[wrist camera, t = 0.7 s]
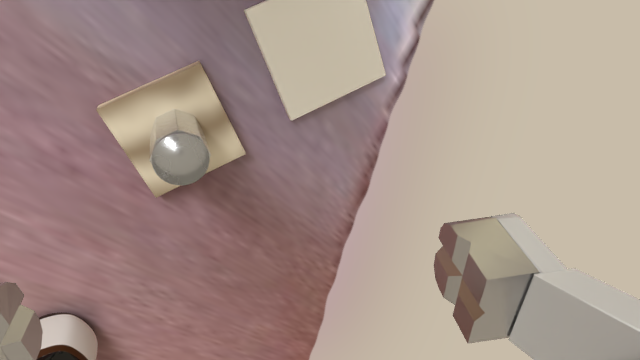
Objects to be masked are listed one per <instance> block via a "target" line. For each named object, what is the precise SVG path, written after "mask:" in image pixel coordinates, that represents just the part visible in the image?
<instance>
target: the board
mask: <svg viewBox="0 0 640 360" xmlns="http://www.w3.org/2000/svg"><path fill="white" fill-rule="evenodd" d="M244 12H245V15H246V17H247V20H248V22H249V24H250V27H251V29H252V31H253V34H254V36H255V39H256V41H257V43H258V46H259V48H260V51H261V53H262V55H263V58H264V60H265V63H266V65H267V67H268V70H269V72H270V74H271V77H272V79H273V82H274V84H275V86H276V89H277V91H278V94H279V96H280V98H281V101H282V103H283V105H284V108H285V110H286V113H287V115H288V117H289V119H290V120H291V121H292V120H294V119H296V118H298V117H301V116H303V115H305V114H307V113H309V112H311V111H313V110H315V109H317V108H319V107H321V106H323V105H325V104H327V103H330V102H332V101H334V100H336V99H338V98H340V97H342V96H344V95H346V94H348V93H350V92H352V91H354V90H356V89H359V88H361V87H363V86H365V85H367V84H369V83H371V82H373V81H375V80H377V79H379V78H381V77H383V76H385V75H386V73H385V70H384V66H383V62H382V58H381V55H380V51H379V47H378V43H377V40H376V36H375V32H374V28H373V25H372V21H371V17H370V14H369V10H368V6H367V2H366V0H266V1H263V2H261V3H259V4H256V5H254V6H252V7H249V8H247V9H245V10H244Z"/></svg>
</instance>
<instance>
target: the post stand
mask: <svg viewBox="0 0 640 360" xmlns="http://www.w3.org/2000/svg"><path fill="white" fill-rule="evenodd" d="M173 109H176V110H180V111H183V112H186V113H189V114H192V115H194V116H195V118H196V119H197V121H198V123H199V125H200V127H201V128H202V130H203V132H204V135H205V139H206V142H207V145H208V148H209V151H210V154H211V156H210V161H209V166H208V169H207V171H206V173H208V172H210V171H212V170H214V169H216V168H218V167H220V166H222V165H224V164H226V163H228V162H230V161H232V160H234V159H236V158H239V157H241V156H243V155H245V154H246V153H245V151H244V149H243V147H242V145H241V143H240V141H239V139H238V137H237V135H236V133H235V131H234V129H233V127H232V125H231V123H230V121H229V119H228V117H227V115H226V113H225V111H224V109H223V107H222V105H221V103H220V101H219V99H218V97H217V95H216V93H215V91H214V89H213V87H212V85H211V83H210V81H209V79H208V77H207V75H206V73H205V71H204V69H203V67H202V65H201V63H200V62H199V61H197V62H195V63H192V64H190V65H188V66H186V67H183V68H181V69H179V70H177V71H174V72H172V73H170V74H168V75H165V76H163V77H161V78H159V79H156V80H154V81H152V82H150V83H147V84H145V85H143V86H141V87H138V88H136V89H134V90H132V91H129V92H127V93H125V94H123V95H120V96H118V97H116V98H114V99H111V100H109V101H107V102H105V103H102V104H100V105H98V107H97V112H98V113H99V115H100V116H101V118H102V119H103V120H104V122H105V123H106V125H107V126H108V128H109V129H110V131H111V132H112V134H113V135H114V137H115V138H116V140H117V141H118V143H119V144H120V146H121V147H122V148H123V150H124V151H125V153H126V154H127V156H128V157H129V159H130V160H131V162H132V163H133V165H134V166H135V168H136V169H137V171H138V172H139V173H140V175H141V176H142V178H143V179H144V181H145V182H146V184H147V185H148V187H149V188H150V190H151V191H152V193H153V194H154V196H155V197H158V196H160V195H162V194H165V193H167V192H169V191H171V190H173V189H175V188H177V187H179V186H181V185H173V184H169V183H167V182H165V181H163V180H162V179H161V178H160V177H159V176H158V175H157V174H156V173H155V171H154V169H153V166H152V164H151V162H150V161H149V158H150V134H151V131H152V128H153V125H154V122H155V118H156V117H158V116H160V115H162V114H164V113H166V112H169V111H171V110H173ZM206 173H205V174H206Z"/></svg>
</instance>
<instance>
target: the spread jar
mask: <svg viewBox="0 0 640 360" xmlns="http://www.w3.org/2000/svg"><path fill="white" fill-rule="evenodd" d="M39 319H40V322H41V326H42V330H43V334H42V345H41V349H40V352H39V354H38V357H37V359H36V360H96V357H97V349H98V342H97V338H96V335H95V333H94V332H93V330H92V329H91V327H90V326H89V325H88V324H87V323H86V322H85V321H84V320H82V319H81V318H79V317H78V316H76V315H73V314H70V313H52V314H48V315H45V316H42V317H40V318H39Z"/></svg>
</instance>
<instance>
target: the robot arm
mask: <svg viewBox="0 0 640 360" xmlns="http://www.w3.org/2000/svg"><path fill="white" fill-rule="evenodd" d="M439 239H440V241H441V243H442V244H443V247H441V249H440V250H439V251H438V252H437V253H436V255H435V262H434V270H435V278H436V281H437V284H438V287H439V289H440V291H441V293H442V295H443V297H444V298H445V299H447V300H448V301H450V302H451V303H453V304H454V305H455V309H454V313H453V317H454V318H455V320H456V322H457V324H458V326H459V328H460V330H461V332H462V333H463V335H464V337H465V339H466V341H467V343H475V342H481V341H487V340H495V339H502V338H509V341H511V342H512V343H513V344H514V345H516V346H517V347H518V348H520V349H521V350H522V351H523V352H525V353H526V354H527V355H528V356H530V357H531V358H532V359H534V360H640V299H638V298H636V297H634V296H632V295H629V294H627V293H625V292H623V291H621V290H619V289H617V288H615V287H613V286H611V285H609V284H607V283H605V282H603V281H601V280H599V279H596V278H594V277H592V276H590V275H588V274H586V273H584V272H582V271H580V270H578V269H576V268H571V269H567V268H566V267H565V266H564V264H563V263H562V262H561V261H560V260H559V259H558V258H557V257H556V256H555V254H554V253H553V252H552V251H551V250H550V249H549V248H548V247H547V246H546V245H545V243H544V242H543V241H542V240H541V239H540V238H539V237H538V236H537V234H536V233H535V232H534V231H533V230H532V229H531V228H530V227H529V226H528V224H527V223H526V222H525V221H524V220H523V219H522V218H521V217H520V216H519V215H517V214H514V213H511V214H504V215H497V216H491V217H485V218H478V219H471V220H464V221H457V222H450V223H444V225H443V226H442V227H441V230H440V234H439ZM23 297H24V294H23V293H22V291H21V290H20V289H19V287H18V286H17V285H16V283H8V282H4V283H0V360H36V359H37V357H38V354H39V352H40V349H41V345H42V334H43V330H42V326H41V322H40V319H39V318H38V316H37V314H36V313H35V311H33V310H31V309H29V308H27V307H25V306H23V305H21V302H22V300H23Z"/></svg>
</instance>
